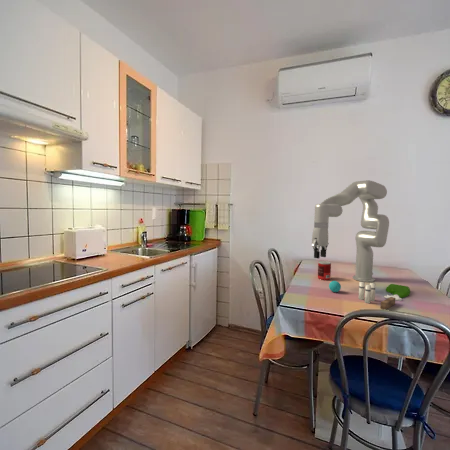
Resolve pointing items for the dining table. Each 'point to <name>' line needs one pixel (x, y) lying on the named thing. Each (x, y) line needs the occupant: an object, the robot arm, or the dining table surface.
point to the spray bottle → (397, 291)
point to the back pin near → (367, 293)
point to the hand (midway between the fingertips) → (319, 257)
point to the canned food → (324, 270)
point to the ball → (334, 286)
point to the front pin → (361, 290)
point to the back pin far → (372, 291)
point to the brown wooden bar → (387, 303)
